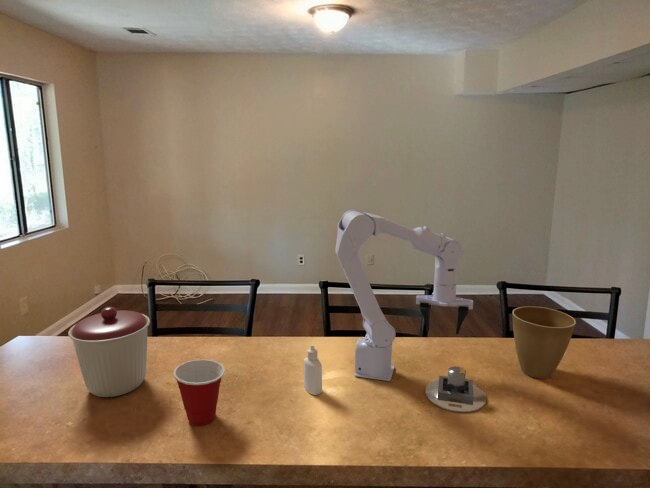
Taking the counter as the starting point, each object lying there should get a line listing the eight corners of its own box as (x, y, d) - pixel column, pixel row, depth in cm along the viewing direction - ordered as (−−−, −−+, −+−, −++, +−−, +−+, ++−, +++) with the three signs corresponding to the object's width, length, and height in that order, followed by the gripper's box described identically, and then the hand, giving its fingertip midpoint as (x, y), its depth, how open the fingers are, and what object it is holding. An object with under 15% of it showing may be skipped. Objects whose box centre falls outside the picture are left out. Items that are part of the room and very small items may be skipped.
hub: (423, 406, 104) (424, 396, 104) (427, 377, 118) (427, 368, 117) (487, 416, 101) (488, 406, 100) (484, 385, 114) (484, 375, 113)
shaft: (446, 388, 111) (447, 365, 110) (462, 389, 111) (464, 366, 109) (447, 396, 108) (449, 373, 106) (465, 398, 107) (466, 374, 106)
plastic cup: (225, 431, 96) (222, 379, 93) (173, 435, 94) (168, 383, 92) (229, 402, 106) (226, 356, 104) (182, 406, 105) (178, 359, 102)
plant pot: (554, 393, 110) (561, 332, 107) (496, 370, 121) (501, 314, 117) (577, 373, 120) (585, 316, 116) (522, 354, 131) (528, 301, 127)
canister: (168, 385, 114) (161, 306, 109) (93, 416, 101) (82, 328, 97) (136, 362, 126) (129, 290, 122) (65, 387, 113) (54, 308, 109)
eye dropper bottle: (320, 383, 115) (320, 339, 112) (322, 395, 109) (322, 350, 107) (303, 384, 114) (303, 340, 112) (304, 396, 109) (303, 350, 106)
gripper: (415, 285, 116) (413, 333, 119) (474, 289, 112) (471, 340, 115) (418, 277, 123) (416, 323, 126) (473, 281, 119) (470, 329, 122)
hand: (442, 331), depth 121 cm, fingers open, 7 cm apart
